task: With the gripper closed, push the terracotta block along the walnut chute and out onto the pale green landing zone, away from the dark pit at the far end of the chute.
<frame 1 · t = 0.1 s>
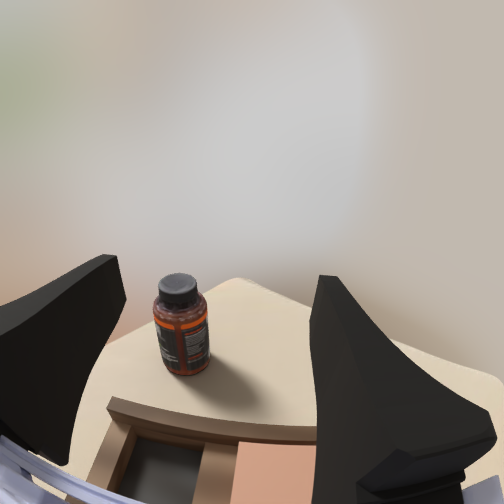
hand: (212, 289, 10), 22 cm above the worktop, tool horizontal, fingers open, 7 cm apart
block: (272, 493, 17), point 3 cm above the worktop, touching chute
supplement bottle: (186, 360, 34), on the worktop
chute: (256, 501, 18), on the worktop
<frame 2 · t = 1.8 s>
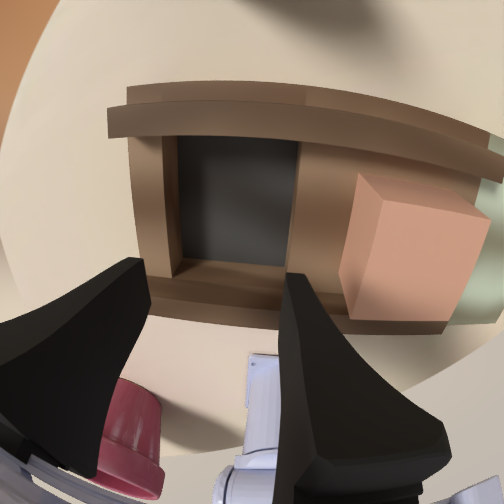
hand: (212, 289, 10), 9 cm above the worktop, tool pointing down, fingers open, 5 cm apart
plant pot: (130, 395, 33), on the worktop
block: (397, 232, 15), point 3 cm above the worktop, touching chute
chute: (368, 209, 18), on the worktop
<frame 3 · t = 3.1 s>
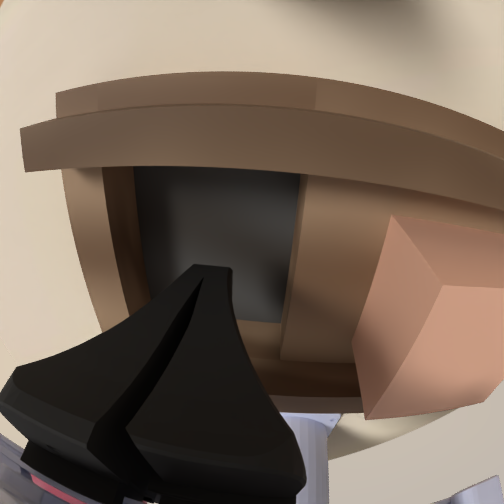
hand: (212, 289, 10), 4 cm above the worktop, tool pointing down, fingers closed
plant pot: (115, 428, 28), on the worktop
block: (433, 291, 10), point 3 cm above the worktop, touching chute
chute: (393, 252, 13), on the worktop
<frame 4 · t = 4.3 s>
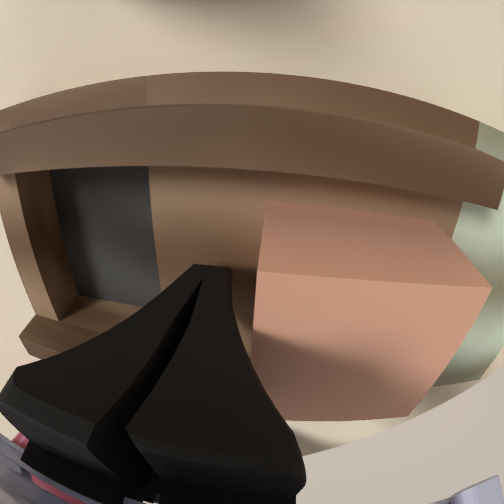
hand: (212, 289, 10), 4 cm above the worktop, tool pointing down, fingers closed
plant pot: (80, 416, 28), on the worktop
block: (340, 285, 11), point 3 cm above the worktop, touching chute
chute: (288, 242, 13), on the worktop
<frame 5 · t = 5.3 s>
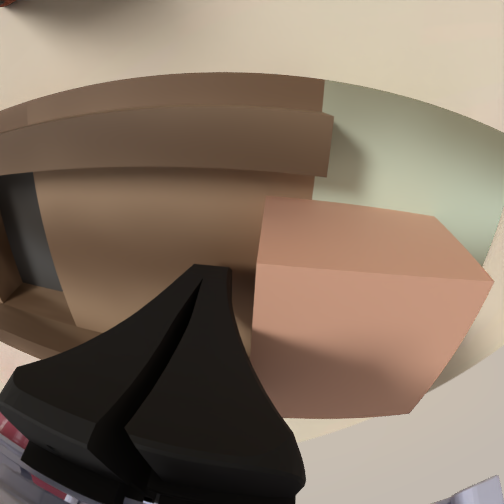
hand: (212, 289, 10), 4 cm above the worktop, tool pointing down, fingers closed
plant pot: (49, 403, 29), on the worktop
block: (341, 281, 11), point 3 cm above the worktop, touching chute, gripper
chute: (167, 232, 14), on the worktop
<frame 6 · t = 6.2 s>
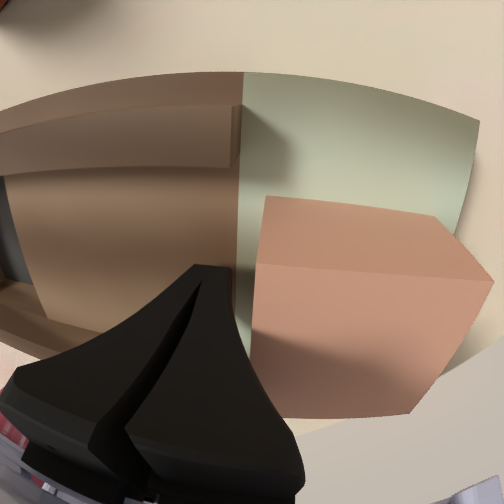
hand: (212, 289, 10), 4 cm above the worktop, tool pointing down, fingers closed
plant pot: (38, 397, 29), on the worktop
block: (341, 281, 11), point 3 cm above the worktop, touching chute, gripper
chute: (125, 229, 14), on the worktop
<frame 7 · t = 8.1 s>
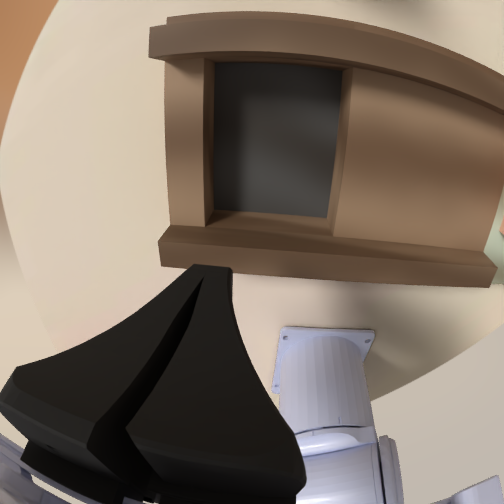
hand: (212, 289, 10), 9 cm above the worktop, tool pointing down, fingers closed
chute: (410, 157, 16), on the worktop
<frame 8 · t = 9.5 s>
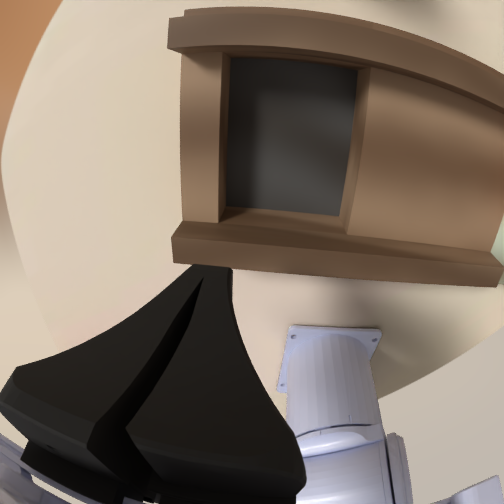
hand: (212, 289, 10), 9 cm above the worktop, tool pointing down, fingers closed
chute: (421, 158, 16), on the worktop
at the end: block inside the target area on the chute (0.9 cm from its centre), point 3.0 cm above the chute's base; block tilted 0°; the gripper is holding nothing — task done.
